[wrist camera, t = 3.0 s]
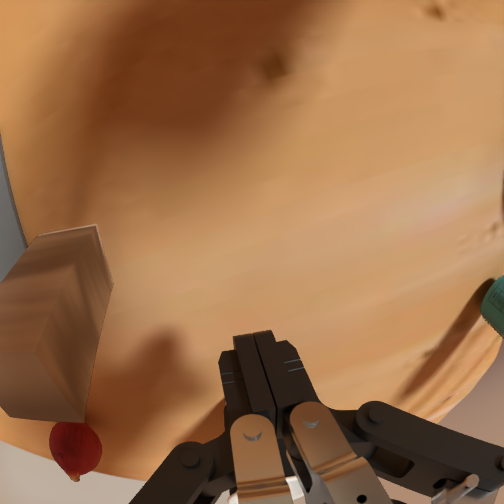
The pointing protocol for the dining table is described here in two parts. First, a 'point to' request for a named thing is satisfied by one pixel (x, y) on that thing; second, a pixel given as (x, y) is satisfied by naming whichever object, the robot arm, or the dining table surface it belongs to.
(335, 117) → the dining table surface
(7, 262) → the grey flat slab
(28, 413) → the cardboard box
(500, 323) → the beverage bottle
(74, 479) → the onion
